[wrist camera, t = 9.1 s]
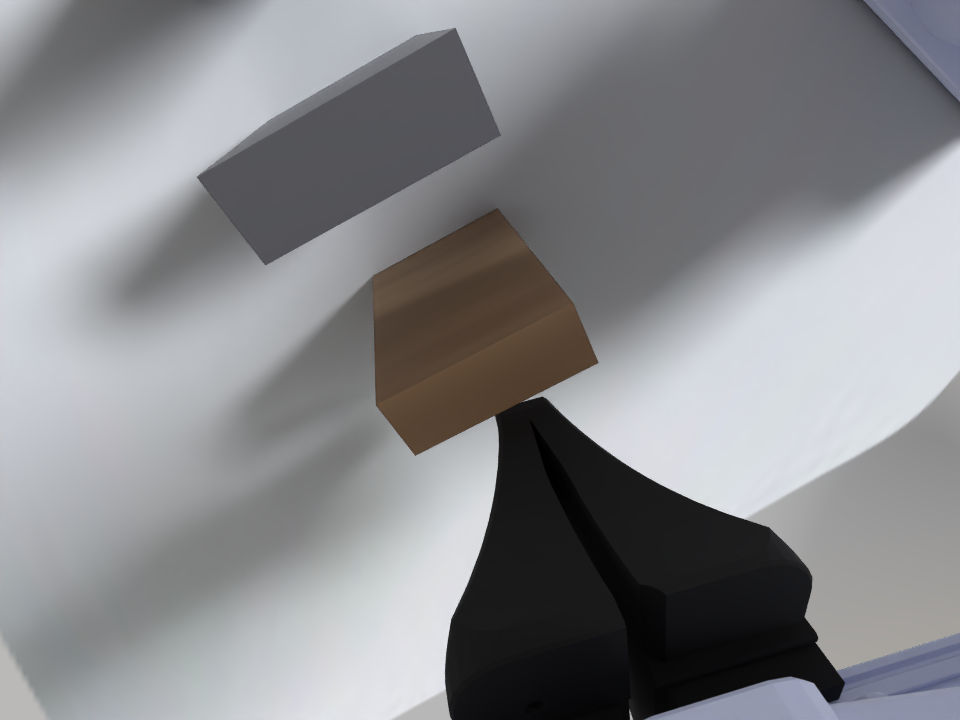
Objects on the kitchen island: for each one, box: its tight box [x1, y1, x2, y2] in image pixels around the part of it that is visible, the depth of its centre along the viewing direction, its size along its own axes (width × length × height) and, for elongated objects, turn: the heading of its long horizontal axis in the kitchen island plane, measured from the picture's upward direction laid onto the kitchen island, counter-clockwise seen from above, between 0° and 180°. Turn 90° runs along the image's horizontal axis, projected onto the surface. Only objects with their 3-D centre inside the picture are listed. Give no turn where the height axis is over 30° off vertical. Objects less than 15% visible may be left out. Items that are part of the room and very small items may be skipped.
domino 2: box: [373, 209, 598, 456], centre depth 14 cm, size 2×4×7 cm, turn 116°
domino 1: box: [197, 28, 500, 265], centre depth 11 cm, size 2×4×7 cm, turn 116°
